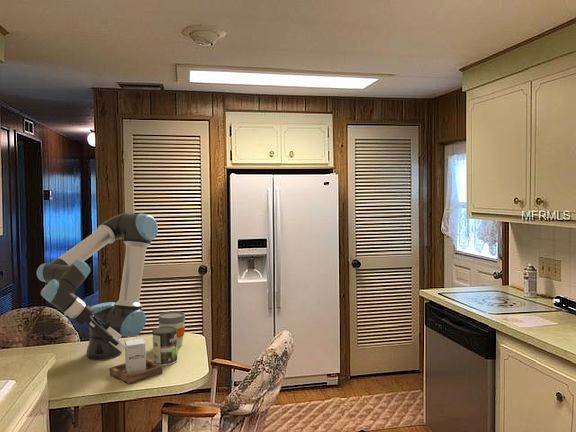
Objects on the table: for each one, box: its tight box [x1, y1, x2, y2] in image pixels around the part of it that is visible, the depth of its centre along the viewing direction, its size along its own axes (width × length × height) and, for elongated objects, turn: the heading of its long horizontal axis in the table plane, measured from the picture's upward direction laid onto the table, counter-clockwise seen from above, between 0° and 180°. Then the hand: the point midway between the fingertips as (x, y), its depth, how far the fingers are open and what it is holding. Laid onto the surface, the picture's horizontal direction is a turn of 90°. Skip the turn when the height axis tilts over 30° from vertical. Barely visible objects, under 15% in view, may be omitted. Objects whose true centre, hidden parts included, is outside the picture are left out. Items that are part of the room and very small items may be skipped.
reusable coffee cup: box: [157, 310, 186, 349], centre depth 234 cm, size 12×12×15 cm
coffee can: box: [151, 326, 179, 367], centre depth 214 cm, size 10×10×14 cm
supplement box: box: [124, 338, 146, 375], centre depth 200 cm, size 7×7×13 cm
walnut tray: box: [108, 359, 163, 386], centre depth 201 cm, size 15×15×3 cm
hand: (121, 343), depth 197 cm, fingers open, 13 cm apart
